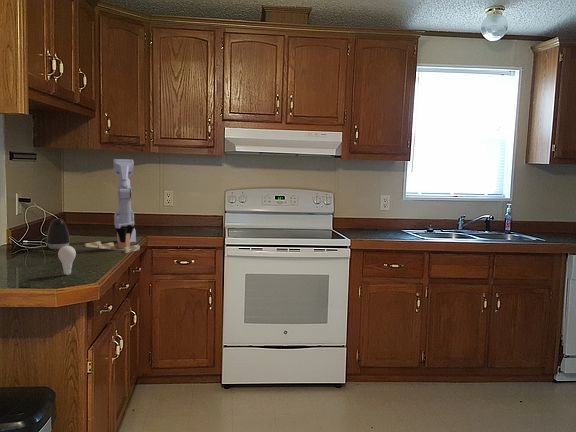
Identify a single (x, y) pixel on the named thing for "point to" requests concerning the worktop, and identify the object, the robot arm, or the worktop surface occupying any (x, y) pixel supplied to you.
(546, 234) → the worktop surface
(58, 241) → the dark grey dome
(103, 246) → the notched rack
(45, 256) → the worktop surface
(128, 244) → the block
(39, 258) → the worktop surface
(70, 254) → the lightbulb
